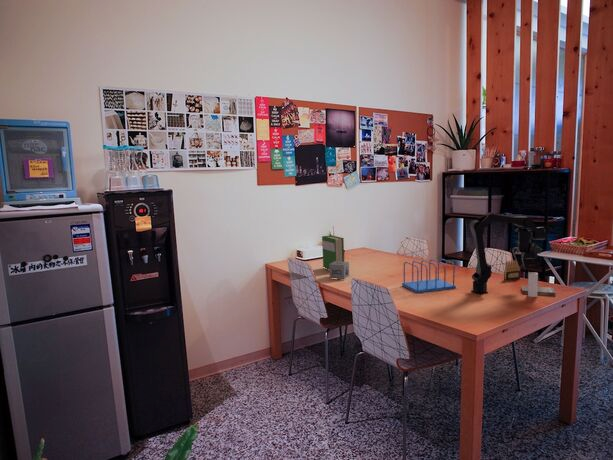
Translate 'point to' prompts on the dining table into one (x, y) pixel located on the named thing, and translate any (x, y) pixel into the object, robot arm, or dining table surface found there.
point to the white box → (532, 284)
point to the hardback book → (332, 250)
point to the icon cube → (339, 269)
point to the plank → (540, 291)
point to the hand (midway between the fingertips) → (523, 268)
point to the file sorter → (429, 284)
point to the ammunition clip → (512, 271)
